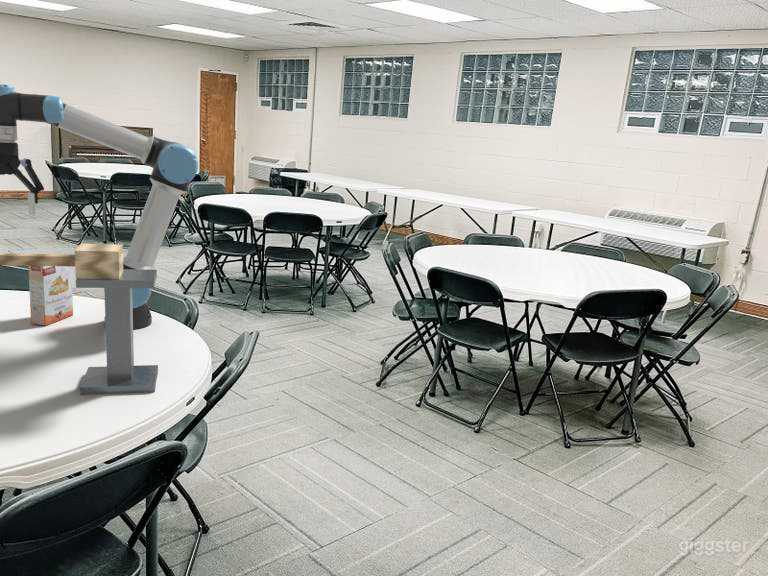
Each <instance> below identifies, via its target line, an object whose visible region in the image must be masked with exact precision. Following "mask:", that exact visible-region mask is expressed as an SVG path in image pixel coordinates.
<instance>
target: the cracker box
mask: <svg viewBox="0 0 768 576" xmlns="http://www.w3.org/2000/svg"><path fill="white" fill-rule="evenodd" d="M27 268H28V285H29V287H28V289H29V305H30V306H29V307H30V324H31V325H38V326H43V327H46V326H48V325H52V324H54V323H57V322H59V321H61V320H65V319H67V318H69V317H73V316H74V304H73V300H74V299H73V298H74V297H73V266H27Z"/></svg>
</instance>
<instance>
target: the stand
mask: <svg viewBox="0 0 768 576" xmlns="http://www.w3.org/2000/svg"><path fill="white" fill-rule="evenodd" d="M157 271H158V269H156V270H141V269H123V272H122V274H121V277H120V279H88V278H75V288H76V289H82V288H83V289H104V314H105V316H104V318H105V321H104V325H105V324H106V326H105V348H106V351H105V352H106V354H105V355H106V366H89V367H88V368H87V369H86V372H85V374H84V376H83V379H82V381H81V384H80V385H79V395H80V396H83V395H106V394H107V395H108V394H112V395H113V394H133V393H138V394H139V393H154V392H156V386H157V380H158V375H159V374H158V373H159V365H158V364H153V365H152V364H151V365H150V364H149V365H148V364H147V365H135V362H134V361H135V357H134V356H135V355H134V329H133V301H132V288H151V289H154V288H155V285H156V281H157V277H158V272H157Z"/></svg>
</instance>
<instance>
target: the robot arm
mask: <svg viewBox="0 0 768 576" xmlns="http://www.w3.org/2000/svg"><path fill="white" fill-rule="evenodd" d="M17 121H22V122H23V121H25V122H33V123H34V122H35V123H46V124H48V125H51V126H53V127H57V128H59V129H62V130H64V131H67V132H69V133H72V134H75V135H77V136H80V137H82V138H85V139H87V140H90V141H92V142H95V143H98V144H99V145H103V146H105V147H108V148H109V149H112V150H115V151H117V152H120V153H124V154H125V155H127V156H130V157H134V158H136V159H138V160H140V162H141V163H142V164H143V165H145V166H148V167H150V168H152V171H151V173H150V176H149V180H150V182H151V184H152V186H151V189H150V192H149V193H148V194H149V195H148V196H147V199H146V203H145V205H144V207H143V210H142V213H141V215H140V219H139V222H138V224H137V226H136V229H135V231H134V233H133V237H132V239H131V242H130V245H129V247H128V251H127V254H126V255H125V256H123V269H141V270H157V269H156V268H155V267H156V266H155V263H156V260H157V257H158V254H159V251H160V249H161V246H162V244H163V241H164V238H165V236H166V234H167V233H166V232H168V231H167V230H168V228H169V225H170V223H171V221H172V218H173V214H174V212H175V209H176V207H177V205H178V204H177V203H178V201H179V199H180V196H182V195H185V194H186V193H187V191H188V189H189V188H190V187H189V186H190V184H191V181H192V180H194V178H195V176H196V175H197V173H198V170H199V161H198V159H197V156H196V154H195V152H194V150H192V149H191V148H190V147H189V146H187V145H184V144H183V143H179V142H176V141H175V142H174V141H169V140H165V139H162V138H159V137H156V136H154V135H152V136H146V135H144V134H141V133H138V132H137V131H133V130H131V129H129V128H126V127H123V126H121V125H119V124H117V123H113V122H111V121H108V120H106V119H104V118H101V117H99V116H97V115H94V114H92V113H90V112H86V111H84V110H81V109H80V108H77V107H74V106H71V105H69V104H66V103H64V101H63V99H62V97H61V96H57V95H56V96H55V95H52V94H51V95H50V94H48V95H45V94H35V93H34V94H32V93H21V92H17V91H16V90H15V86H14V85H12V84H4V83H0V175H1V176H4V175H10V176H12V175H14V176H15V177H16V178H17V179H18V180H19V181H20V182H21V183H22V184H23V185H24V186H25V187H26V188H27V189H28V190H29V192H27V204H28V206H27V207H28V215H30V216H36V213H37V212H36V204H38V202H39V197H38V194H39V193H40V192H41V191H44V190H45V188H44V186H43V184H42V181H41V180H40V178H39V176H38V175H37V173H36V172H35V170H34V168H33V165H32V160H31V159H30V158H26V157H25V158H23V159H20V157H19V144H18V143H17V142H16V141H18V138H19V137H18V127H17V126H18V125H17ZM20 165H21V166H22V167H23V168H24V170H25V171H26V173H27V174H28V177H29V178H30V180H31V181H30V180H29V179H28V178H27V177H26V175H24V174H23V172H22V171H21V170H20V169H19V167H20ZM151 295H152V288H132V301H133V330H137V329H138V330H139V329H143V328H145V327H149V326H150V325H151V324H152V323H153V320H152V319H153V317H152V316H153V315H152V313H151V310H150V308H149V305H148V301H149V299H150V297H151ZM104 322H105V317H104ZM104 326H105V327H106V324H105V323H104Z"/></svg>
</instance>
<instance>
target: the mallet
mask: <svg viewBox="0 0 768 576" xmlns="http://www.w3.org/2000/svg"><path fill="white" fill-rule="evenodd" d="M123 257H124V245H123V244H116V243H115V244H114V243H113V244H112V243H111V244H110V243H109V244H108V243H107V244H106V243H80V244H79V245H78V246H77V247H76V248H75V249H74V254H67V253H66V254H65V253H64V254H61V253H60V254H59V253H55V254H54V253H53V254H52V253H13V252H12V253H10V252H9V253H6V252H5V253H4V252H0V266H4V267H5V266H6V267H7V266H8V267H9V266H14V267H19V266H20V267H26V266H27V267H28V266H72V268H73V267H75V268H74V269H75V270H74V271H75V279H77V278H88V279H120V277H121V274H122V272H123Z"/></svg>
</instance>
